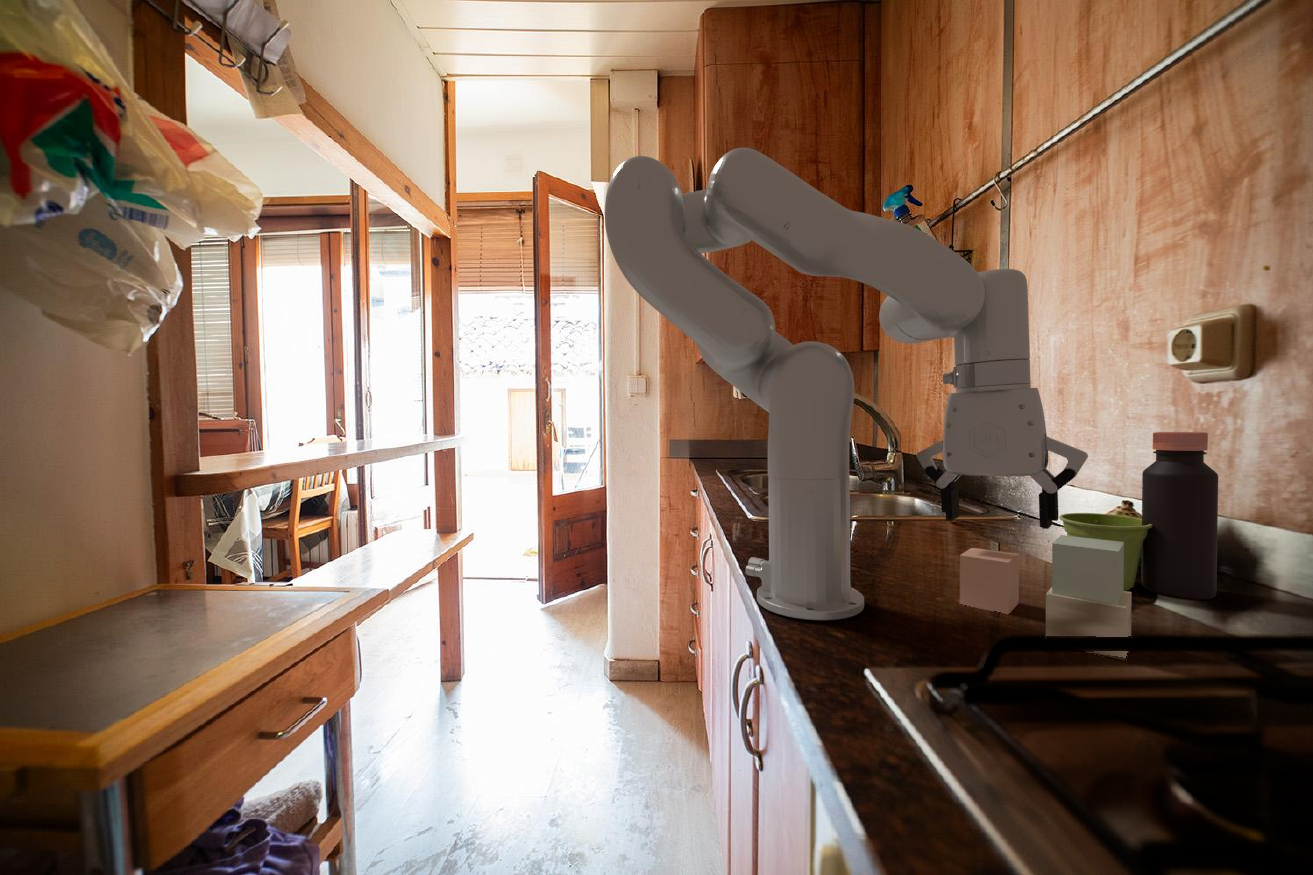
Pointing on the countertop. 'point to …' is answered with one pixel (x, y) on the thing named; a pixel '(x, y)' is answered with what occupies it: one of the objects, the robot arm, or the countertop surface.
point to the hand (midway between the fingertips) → (997, 522)
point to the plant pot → (1111, 536)
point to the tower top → (1088, 568)
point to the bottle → (1180, 518)
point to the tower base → (1088, 618)
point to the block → (989, 580)
